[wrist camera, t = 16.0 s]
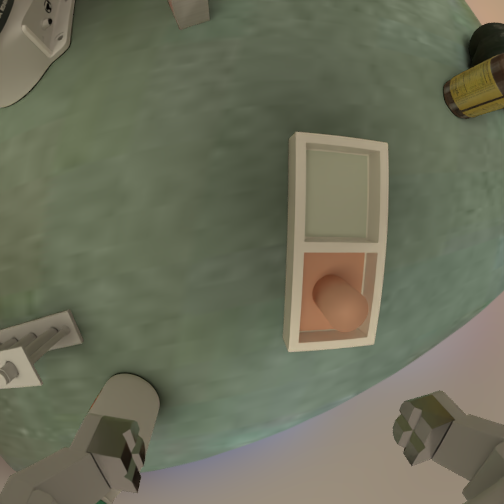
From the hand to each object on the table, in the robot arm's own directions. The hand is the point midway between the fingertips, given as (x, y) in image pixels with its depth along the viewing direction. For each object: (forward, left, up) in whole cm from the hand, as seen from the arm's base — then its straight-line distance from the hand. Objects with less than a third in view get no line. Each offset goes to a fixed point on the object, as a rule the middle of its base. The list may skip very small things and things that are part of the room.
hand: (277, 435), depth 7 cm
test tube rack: (+11, -32, -25) cm, 42 cm away
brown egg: (+3, +10, -24) cm, 26 cm away
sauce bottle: (-23, +30, -25) cm, 45 cm away
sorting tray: (-2, +10, -25) cm, 26 cm away
